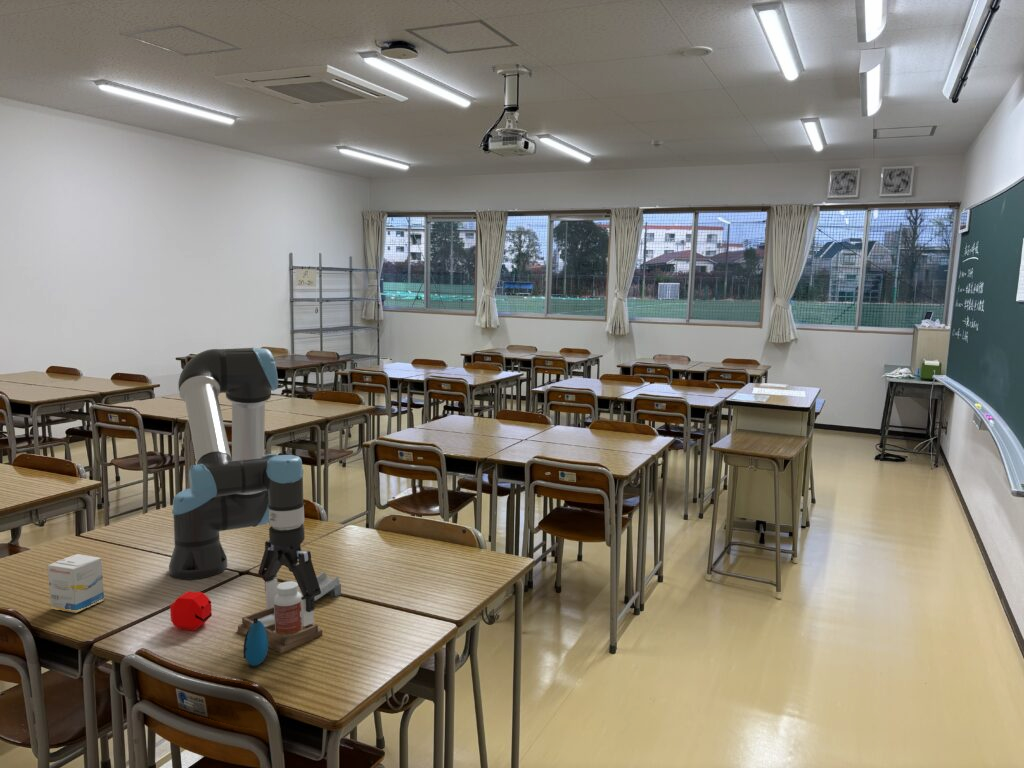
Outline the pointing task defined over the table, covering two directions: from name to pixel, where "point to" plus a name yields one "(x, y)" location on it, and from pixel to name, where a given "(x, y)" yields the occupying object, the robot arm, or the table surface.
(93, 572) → the ink box
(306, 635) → the divided sorting tray
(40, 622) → the table surface
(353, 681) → the table surface
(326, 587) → the feeder chute
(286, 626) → the pill bottle
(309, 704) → the table surface
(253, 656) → the ornament
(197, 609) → the ball
